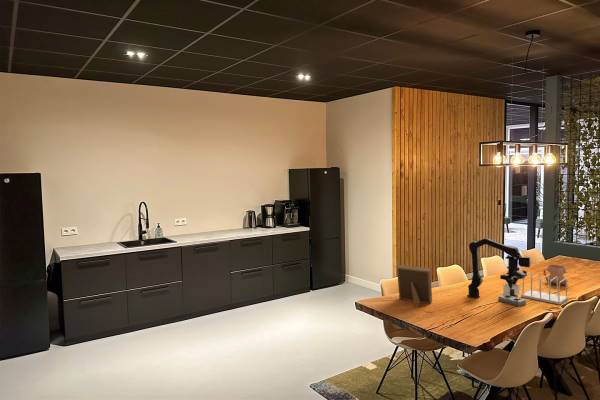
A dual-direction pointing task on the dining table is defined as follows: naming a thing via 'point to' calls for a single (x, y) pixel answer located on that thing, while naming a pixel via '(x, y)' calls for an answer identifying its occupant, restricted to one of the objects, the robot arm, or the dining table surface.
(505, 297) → the grey base block
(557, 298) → the file sorter
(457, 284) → the dining table surface
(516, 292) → the white arch block
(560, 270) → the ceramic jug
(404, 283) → the photo frame
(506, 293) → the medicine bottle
